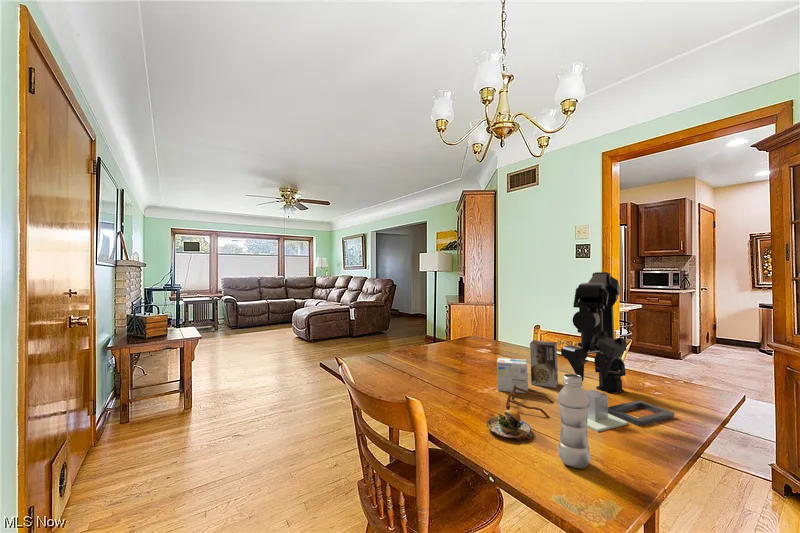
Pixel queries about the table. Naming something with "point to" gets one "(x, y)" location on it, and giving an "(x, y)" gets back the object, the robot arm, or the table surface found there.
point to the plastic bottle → (573, 423)
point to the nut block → (597, 405)
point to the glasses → (525, 405)
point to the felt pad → (606, 423)
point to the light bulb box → (512, 374)
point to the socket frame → (659, 416)
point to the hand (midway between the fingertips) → (592, 379)
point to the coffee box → (544, 363)
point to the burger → (510, 426)
